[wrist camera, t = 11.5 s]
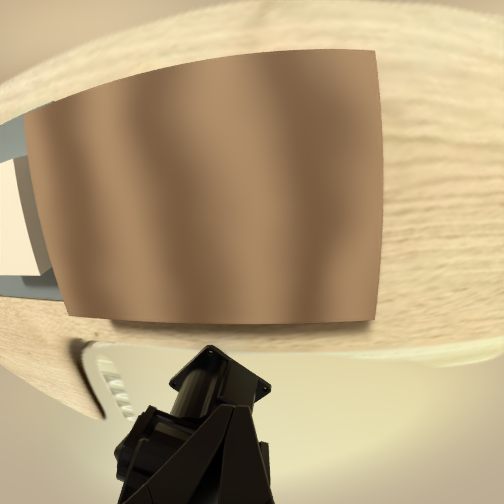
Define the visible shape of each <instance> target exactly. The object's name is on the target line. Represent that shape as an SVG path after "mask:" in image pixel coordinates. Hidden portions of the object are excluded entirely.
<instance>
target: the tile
mask: <svg viewBox="0 0 504 504" xmlns="http://www.w3.org/2000/svg"><path fill="white" fill-rule="evenodd" d="M51 267H52V264H51V261H50V257H49V254H48V250H47V247H46V243H45V239H44V235H43V231H42V227H41V223H40V219H39V215H38V210H37V205H36V201H35V196H34V191H33V185H32V180H31V174H30V168H29V161H28V155H25V156H21V157H17V158H13V159H10V160H8V161H5V162H3V163H0V275H28V276H40V275H42V274H43V273H45V272H46V271H47V270H49V269H50V268H51Z"/></svg>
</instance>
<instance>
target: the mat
mask: <svg viewBox="0 0 504 504" xmlns="http://www.w3.org/2000/svg"><path fill="white" fill-rule="evenodd" d="M53 102H55V101H52V102H50V103H47V104H45V105H43V106H46V105H48V104H51V103H53ZM43 106H40V107H38V108H36V109H39V108H41V107H43ZM36 109H33V110H31V111H29V112H27V113H30V112H32V111H34V110H36ZM27 113H25V114H27ZM25 114H22V115H20V116H18V117H16V118H14V119H12V120H10V121H8V122H6V123H4V124H2V125H0V163H3V162H5V161H8V160H10V159H13V158H17V157H21V156H25V155H28V154H27V147H26V138H25V129H24V118H23V115H25ZM0 295H2V296H12V297H24V298H36V299H50V300H63V298H62V295H61V292H60V289H59V286H58V283H57V280H56V277H55V274H54V271H53V267H51V268H50V269H49V270H47V271H46V272H45V273H43V274H42V275H40V276H28V275H0Z"/></svg>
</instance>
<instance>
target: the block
mask: <svg viewBox="0 0 504 504" xmlns="http://www.w3.org/2000/svg"><path fill="white" fill-rule="evenodd" d="M23 118H24V129H25V138H26V147H27V154H28V161H29V168H30V174H31V180H32V185H33V191H34V196H35V201H36V205H37V210H38V215H39V219H40V223H41V227H42V231H43V235H44V239H45V243H46V247H47V250H48V254H49V257H50V261H51V264H52V267H53V271H54V274H55V277H56V280H57V283H58V286H59V289H60V292H61V295H62V298H63V301H64V304H65V306H66V309H67V312H68V314H69V316H76V317H88V318H100V319H113V320H129V321H146V322H168V323H199V324H294V323H325V322H347V321H365V320H375V313H376V304H377V295H378V284H379V273H380V260H381V244H382V222H383V142H382V121H381V106H380V93H379V82H378V72H377V63H376V55H375V51H372V50H347V49H314V50H289V51H274V52H262V53H252V54H243V55H235V56H227V57H220V58H214V59H208V60H202V61H196V62H191V63H185V64H180V65H175V66H171V67H166V68H162V69H158V70H153V71H149V72H145V73H141V74H137V75H134V76H130V77H127V78H123V79H120V80H116V81H113V82H110V83H106V84H103V85H100V86H97V87H94V88H91V89H88V90H85V91H82V92H79V93H77V94H74V95H71V96H68V97H66V98H63V99H61V100H58V101H56V102H53V103H51V104H48V105H46V106H43V107H41V108H39V109H36V110H34V111H32V112H30V113H27V114H25V115H23Z"/></svg>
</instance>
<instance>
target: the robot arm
mask: <svg viewBox="0 0 504 504" xmlns="http://www.w3.org/2000/svg"><path fill="white" fill-rule="evenodd" d="M209 351H212V353H211V352H209ZM169 385H170V386H171V387H172V388H173V389H175V390H176V391H178V392H179V393H178V396H177V398H176V400H175V403H174V406H173V408H172V411H171V412H170V414H168V413H165V412H163V411H160V410H157V408H156V407H153V406H151V405H149V407H148V408H147V410H146V411H145V412H143V413H142V414H141V415H139V416H138V418H137V420H136V422H135V424H134V426H133V428H132V430H131V431H130V433H129V434H128V435H127V436H126V437H125V438H124V440H122V442H121V443H120V444H119V445H118V446H117V447H116V449H115V451H114V455H115V458H116V460H117V462H118V463H117V474H116V478H117V479H118V480H120V481H122V482H124V484H123V487H122V490H121V494H120V497H119V500H118V504H275V503H274V501H273V496H272V492H271V489H270V465H269V464H270V463H269V446H268V443H266V442H262V441H261V442H258V439H257V435H256V431H255V427H254V423H253V419H252V412H253V406H254V403H255V402H257V401H258V400H260V399H261V398H263V397H264V396H266V395H267V394H268V393H270V392H271V385H270V384H269V383H268V382H266V381H265V380H263V379H262V378H260V377H259V376H257V375H255V374H254V373H252V372H251V371H249V370H248V369H246V368H245V367H243V366H242V365H240V364H239V363H238V362H236V361H235V360H233V359H232V358H230V357H229V356H227V355H226V354H224V353H223V352H222V351H220V350H219V349H217V348H216V347H214V346H213V345H207V346H206V347H205V348H203V349H202V350H201V351H200V352H199V353H198V354H197V355H196V356H195V357H194V358H193V359H192V360H191V361H190V362H189V363H188V364H186V365H185V366H184V367H183V368H182V369H181V370H180V371H179V372H178V373H177V374H176V375H175V376H174V377H173V378H171V380H170V382H169ZM265 388H266V389H265Z"/></svg>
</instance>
